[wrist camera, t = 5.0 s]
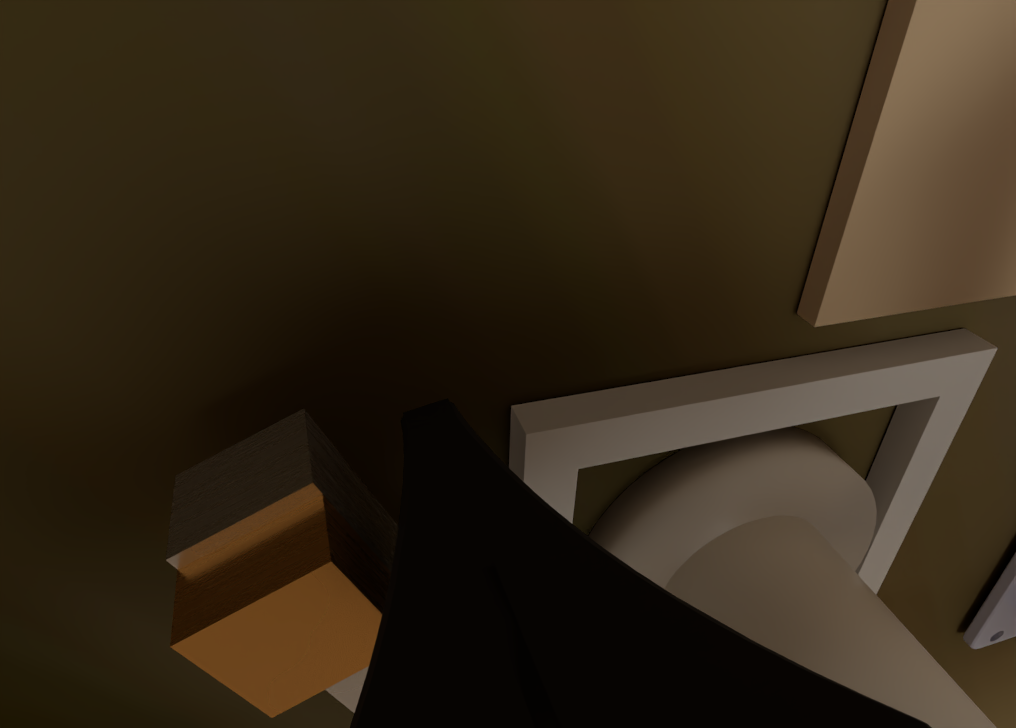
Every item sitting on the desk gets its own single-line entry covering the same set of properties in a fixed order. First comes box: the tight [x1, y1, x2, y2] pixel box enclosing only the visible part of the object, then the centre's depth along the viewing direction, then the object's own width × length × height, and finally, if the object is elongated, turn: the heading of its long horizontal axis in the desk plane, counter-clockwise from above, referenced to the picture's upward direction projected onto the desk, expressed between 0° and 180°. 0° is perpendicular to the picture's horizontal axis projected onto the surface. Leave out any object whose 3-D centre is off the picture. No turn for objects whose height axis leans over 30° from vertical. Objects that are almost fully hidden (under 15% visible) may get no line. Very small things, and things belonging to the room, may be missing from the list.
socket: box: [509, 328, 998, 594], centre depth 16 cm, size 10×10×1 cm
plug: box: [588, 426, 996, 728], centre depth 13 cm, size 7×7×7 cm
